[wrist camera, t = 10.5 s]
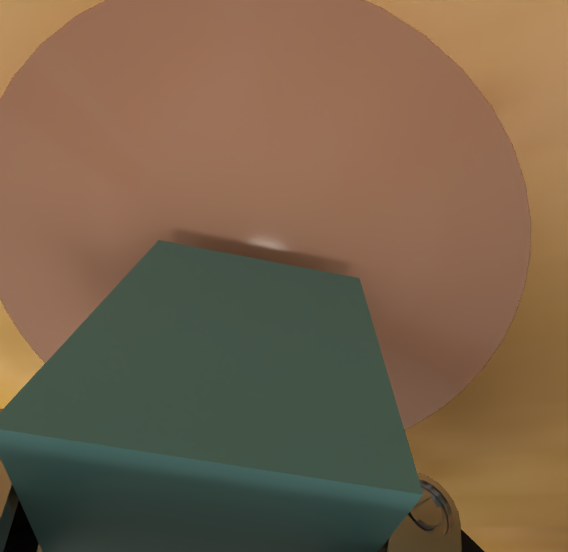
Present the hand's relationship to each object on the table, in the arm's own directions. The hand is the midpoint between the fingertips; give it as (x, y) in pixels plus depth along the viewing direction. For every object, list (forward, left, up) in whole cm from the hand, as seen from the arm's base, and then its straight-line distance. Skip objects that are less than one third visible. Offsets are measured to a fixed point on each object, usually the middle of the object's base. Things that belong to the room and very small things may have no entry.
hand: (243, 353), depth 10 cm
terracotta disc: (0, 0, -3) cm, 3 cm away
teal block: (0, 0, -1) cm, 1 cm away
